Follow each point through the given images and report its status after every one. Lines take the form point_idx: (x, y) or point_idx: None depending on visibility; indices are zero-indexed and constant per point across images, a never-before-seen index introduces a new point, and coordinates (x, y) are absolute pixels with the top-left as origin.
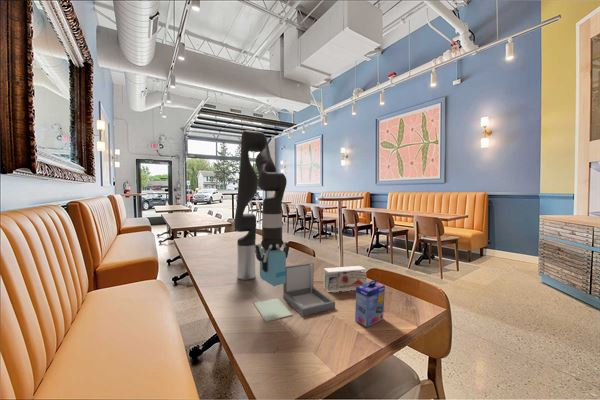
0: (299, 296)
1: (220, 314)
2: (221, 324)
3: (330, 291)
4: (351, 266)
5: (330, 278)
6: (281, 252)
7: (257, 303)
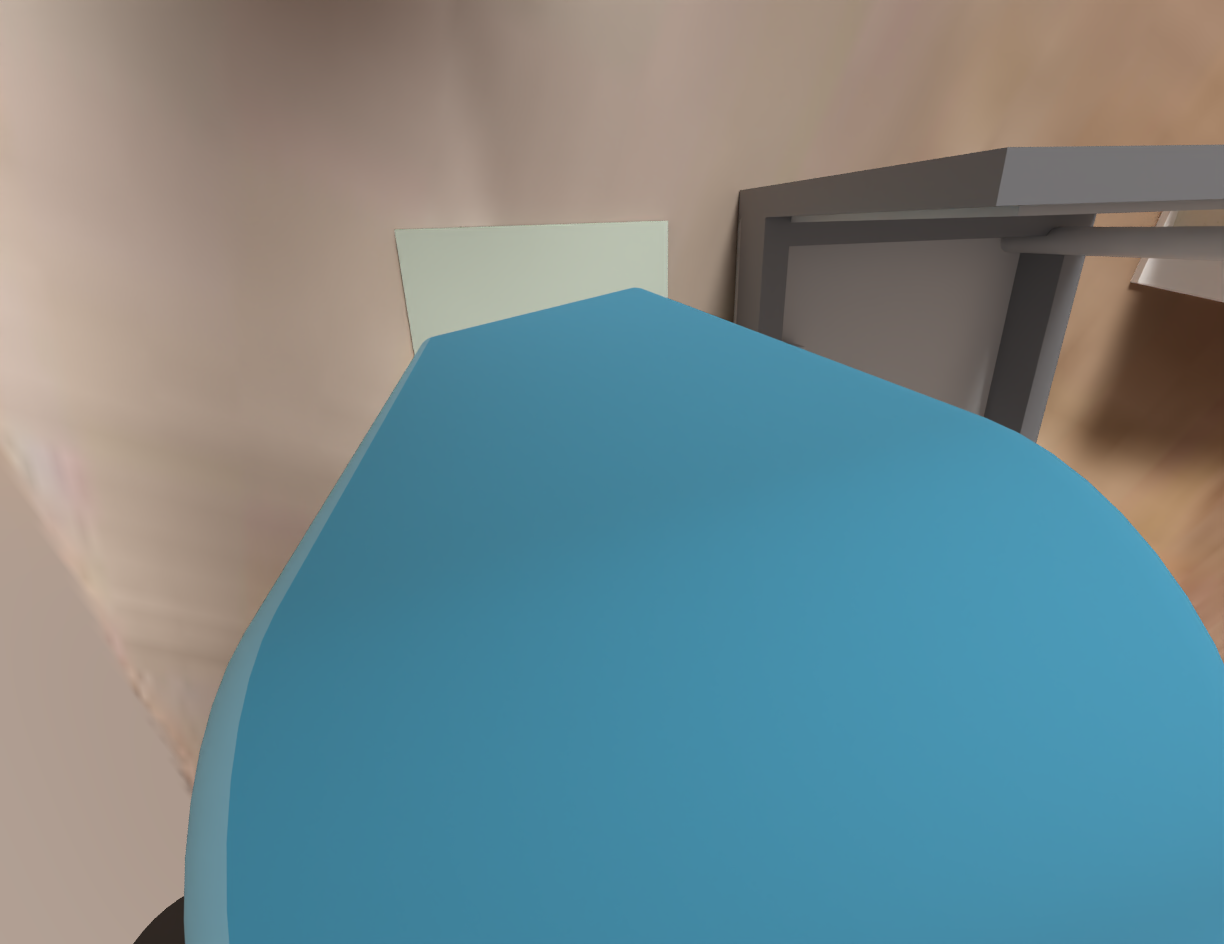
0: (877, 265)
1: (13, 337)
2: (70, 525)
3: (1161, 277)
4: None
5: None
6: None
7: (433, 260)
